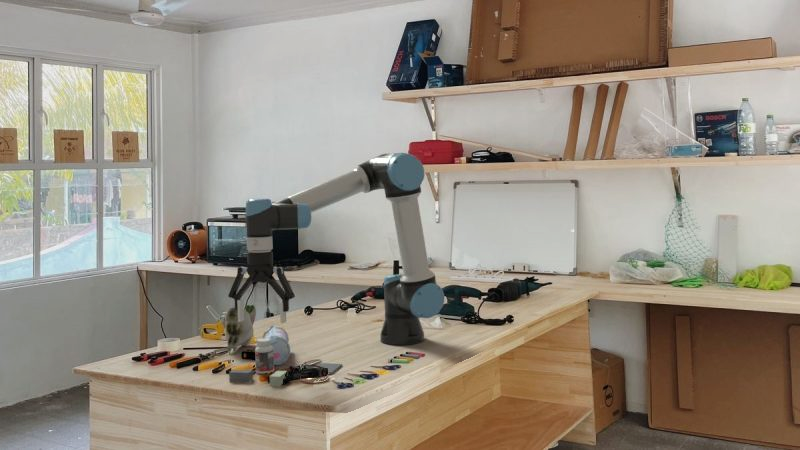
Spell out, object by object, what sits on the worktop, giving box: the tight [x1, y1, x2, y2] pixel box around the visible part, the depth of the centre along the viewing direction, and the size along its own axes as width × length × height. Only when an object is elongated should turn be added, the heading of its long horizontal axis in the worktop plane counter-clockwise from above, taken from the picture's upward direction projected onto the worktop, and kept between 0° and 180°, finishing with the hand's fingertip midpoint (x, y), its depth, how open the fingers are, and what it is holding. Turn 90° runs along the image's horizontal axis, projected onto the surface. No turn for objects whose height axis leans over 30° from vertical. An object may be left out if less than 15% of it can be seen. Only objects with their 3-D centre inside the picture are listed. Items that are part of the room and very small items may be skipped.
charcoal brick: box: [228, 369, 254, 383], centre depth 234 cm, size 6×3×3 cm, turn 80°
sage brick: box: [269, 370, 288, 387], centre depth 230 cm, size 6×3×3 cm, turn 168°
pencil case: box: [261, 324, 291, 366], centre depth 259 cm, size 21×9×10 cm, turn 10°
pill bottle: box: [254, 338, 275, 375], centre depth 243 cm, size 5×5×10 cm
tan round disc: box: [300, 374, 330, 384], centre depth 233 cm, size 8×8×1 cm
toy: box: [224, 304, 257, 355], centre depth 276 cm, size 8×15×20 cm
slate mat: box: [318, 362, 343, 375], centre depth 244 cm, size 10×10×1 cm
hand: (262, 321), depth 242 cm, fingers open, 13 cm apart
